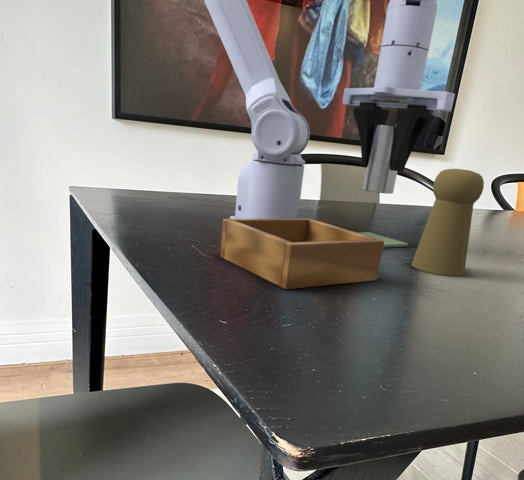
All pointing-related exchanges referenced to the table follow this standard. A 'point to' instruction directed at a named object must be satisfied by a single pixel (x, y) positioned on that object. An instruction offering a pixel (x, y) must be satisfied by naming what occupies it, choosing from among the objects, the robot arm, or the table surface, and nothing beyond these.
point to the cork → (449, 223)
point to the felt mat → (386, 240)
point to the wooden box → (300, 251)
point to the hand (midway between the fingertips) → (381, 168)
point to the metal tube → (381, 161)
